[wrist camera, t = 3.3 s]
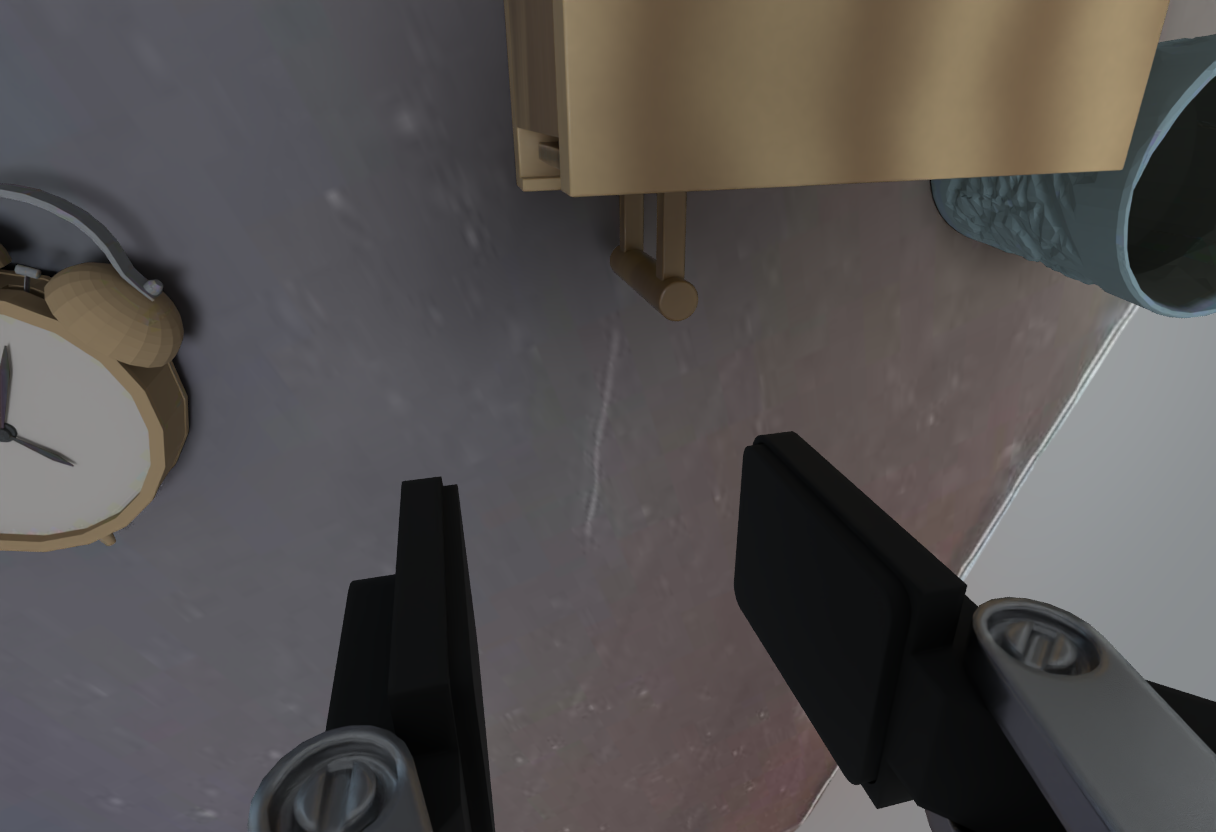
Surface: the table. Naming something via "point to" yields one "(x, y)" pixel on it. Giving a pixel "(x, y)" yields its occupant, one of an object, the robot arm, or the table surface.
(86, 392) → the alarm clock
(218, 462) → the table surface
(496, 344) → the table surface
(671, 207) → the cabinet door
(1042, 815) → the robot arm
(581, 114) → the curio cabinet
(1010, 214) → the blue-grey pot
